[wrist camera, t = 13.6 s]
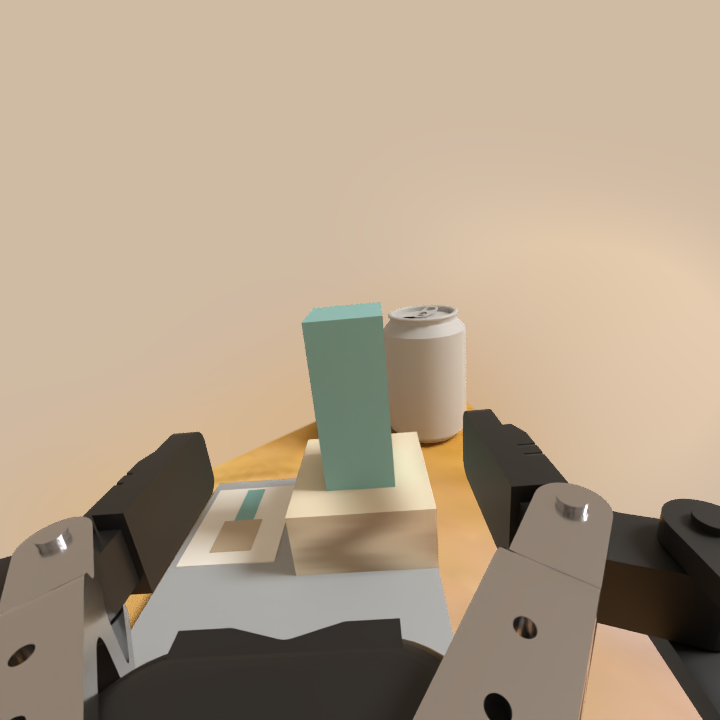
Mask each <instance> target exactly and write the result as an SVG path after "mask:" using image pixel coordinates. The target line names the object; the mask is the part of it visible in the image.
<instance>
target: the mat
mask: <svg viewBox="0 0 720 720" xmlns="http://www.w3.org/2000/svg"><path fill="white" fill-rule="evenodd" d="M296 480H297V478H295V479H281V480H266V481H252V482H237V483H223V484H219V485H218V487H217V489H216V490H215V492H214V494H213V495H212V497H211V499H210V500H209V502H208V504H207V505H206V507H205V509H204V510H203V512H202V514H201V515H200V517H199V519H198V520H197V522H196V523H195V525H194V527H193V528H192V530H191V532H190V533H189V535H188V537H187V538H186V540H185V542H184V543H183V545H182V547H181V548H180V550H179V552H178V553H177V555H176V556H175V558H174V560H173V561H172V563H171V565H170V566H169V568H168V570H167V571H166V573H165V575H164V576H163V578H162V580H161V581H160V583H159V585H158V586H157V588H156V590H155V591H154V593H153V594H152V596H151V598H150V599H149V601H148V603H147V604H146V606H145V608H144V609H143V611H142V613H141V614H140V616H139V618H138V619H137V621H136V623H135V624H134V626H133V627H132V629H131V637H132V645H133V653H134V661H135V668H137V667H139V666H141V665H143V664H145V663H147V662H149V661H151V660H153V659H156V658H158V657H160V656H163V655H165V654H168V652H169V650H170V648H171V646H172V644H173V642H174V640H175V637H176V635H177V633H178V631H184V630H201V629H219V628H235V629H239V630H243V631H247V632H252V633H256V634H260V635H264V636H268V637H272V638H276V639H282V640H286V639H291V638H294V637H297V636H300V635H304V634H307V633H310V632H313V631H316V630H319V629H322V628H325V627H328V626H332V625H335V624H338V623H341V622H344V621H359V620H376V619H394V618H400V623H401V634H402V639H406V640H410V641H414V642H416V643H419V644H422V645H424V646H427V647H429V648H431V649H433V650H435V651H436V652H438V653H440V654H442V655H443V656H444V655H445V653H446V651H447V649H448V647H449V645H450V643H451V641H452V639H453V632H452V627H451V623H450V618H449V614H448V609H447V604H446V600H445V595H444V590H443V586H442V581H441V577H440V572H439V568H424V569H407V570H389V571H371V572H353V573H335V574H317V575H299V576H296V572H295V567H294V561H293V556H292V551H291V546H290V541H289V536H288V531H287V526H286V521H285V517H286V513H287V510H288V507H289V503H290V500H291V497H292V493H293V490H294V486H295V483H296Z"/></svg>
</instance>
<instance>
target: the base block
mask: <svg viewBox="0 0 720 720" xmlns="http://www.w3.org/2000/svg"><path fill="white" fill-rule="evenodd" d="M391 436H392V449H393V462H394V475H395V487H386V488H370V489H353V490H337V491H326V484H325V478H324V471H323V464H322V457H321V451H320V444H319V439H311V440H308V442H307V446H306V449H305V453H304V456H303V459H302V463H301V466H300V469H299V473H298V476H297V480H296V483H295V486H294V490H293V493H292V497H291V500H290V503H289V507H288V510H287V513H286V517H285V521H286V526H287V531H288V536H289V541H290V546H291V551H292V556H293V561H294V567H295V572H296V576H299V575H317V574H335V573H353V572H371V571H389V570H407V569H424V568H439V566H438V538H437V510H436V505H435V501H434V497H433V493H432V489H431V485H430V482H429V478H428V474H427V470H426V466H425V462H424V458H423V454H422V450H421V446H420V443H419V439H418V435H417V432H405V433H392V434H391Z"/></svg>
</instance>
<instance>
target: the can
mask: <svg viewBox="0 0 720 720" xmlns="http://www.w3.org/2000/svg"><path fill="white" fill-rule="evenodd" d="M457 313H458V310H457V309H456V308H454V307H451V306H444V305H422V306H412V307H405V308H401V309H397V310H394V311H392V312H390V313H389V314H388V317H389V318H390V321H389V322H388V324H387V325H386V326H385V328H384V329H383V332H384V345H385V358H386V371H387V384H388V397H389V410H390V423H391V427H392V428H393V430H395V431H396V432H398V433H405V432H417V435H418V439H419V443H438V442H442V441H446V440H448V439H450V438H452V437H453V436H454V435H455V434H457V433H458V432H460V431H461V430H462V429H463V414H464V411H466V326H465V325H464V324H463V323H462V322H461V321H460V320H459V319H458V318H457Z"/></svg>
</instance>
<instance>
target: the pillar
mask: <svg viewBox="0 0 720 720" xmlns="http://www.w3.org/2000/svg"><path fill="white" fill-rule="evenodd" d="M302 329H303V335H304V342H305V349H306V356H307V362H308V369H309V376H310V383H311V389H312V396H313V403H314V410H315V417H316V424H317V430H318V437H319V444H320V451H321V457H322V464H323V471H324V478H325V484H326V491H337V490H353V489H370V488H386V487H395V475H394V462H393V449H392V436H391V423H390V410H389V397H388V384H387V371H386V358H385V345H384V332H383V319H382V311H381V304H380V302H378V303H367V304H356V305H346V306H334V307H323V308H313V310H312V311H311V312H310V313H309V315H308V316H307V317H306V318H305V319H304V321H303V322H302Z"/></svg>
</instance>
